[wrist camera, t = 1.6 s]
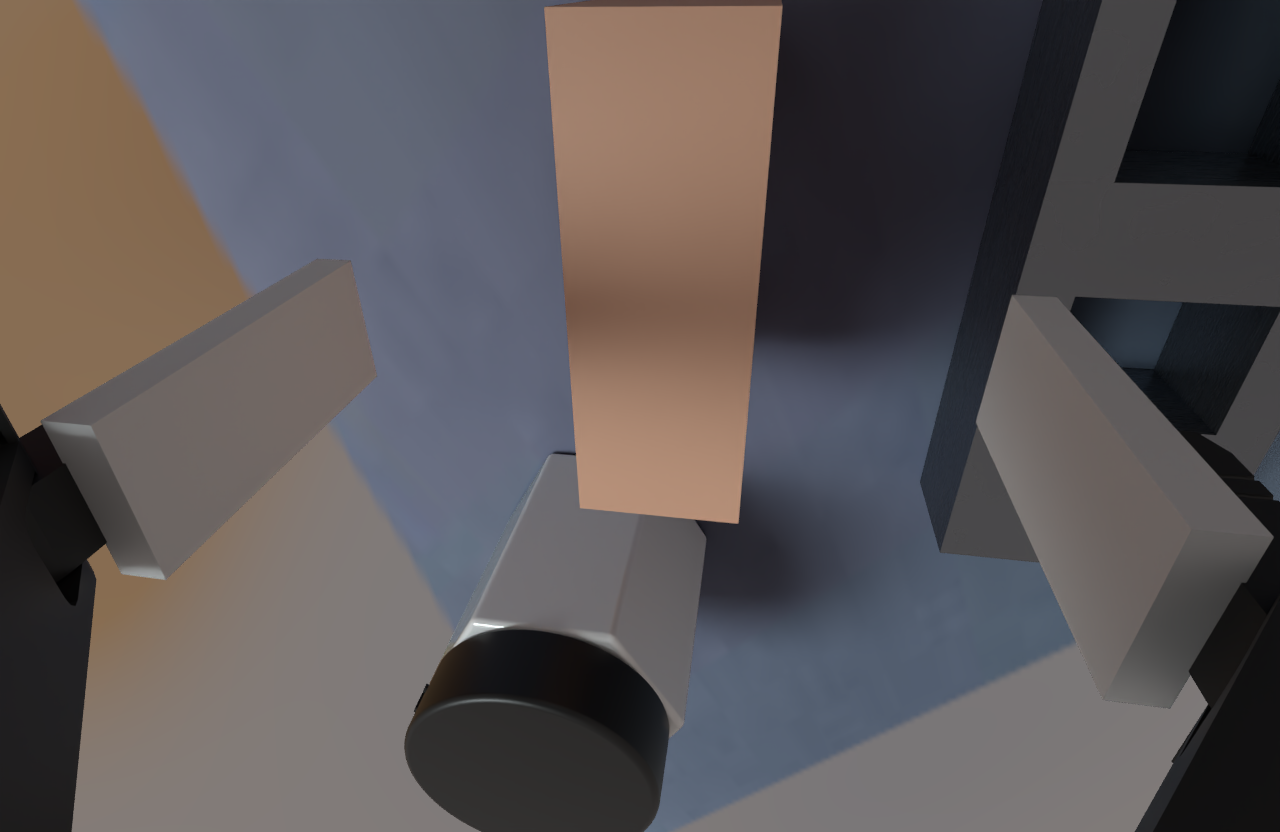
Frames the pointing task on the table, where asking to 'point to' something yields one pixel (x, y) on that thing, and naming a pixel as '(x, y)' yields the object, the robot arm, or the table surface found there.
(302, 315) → the robot arm
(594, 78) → the orange tan block
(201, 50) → the table surface
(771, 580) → the table surface
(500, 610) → the jar
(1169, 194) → the grey slotted block
